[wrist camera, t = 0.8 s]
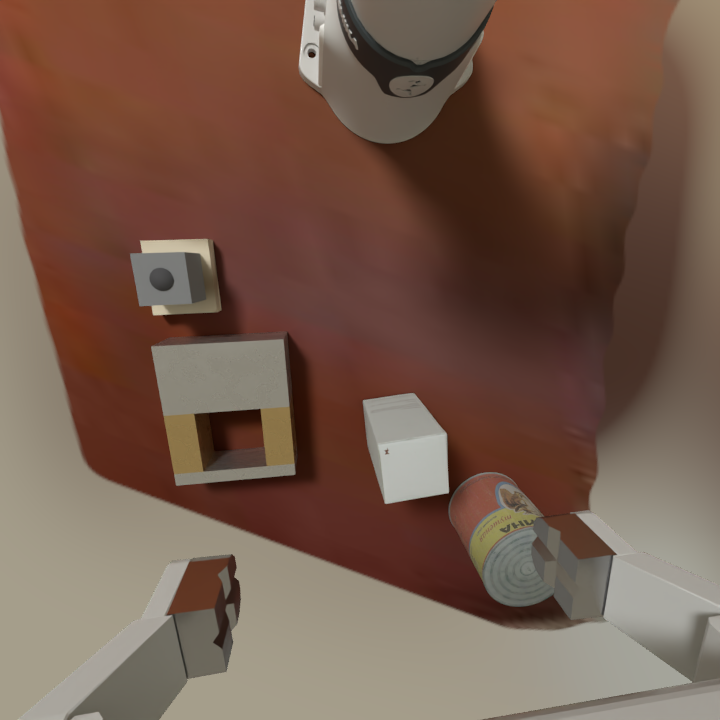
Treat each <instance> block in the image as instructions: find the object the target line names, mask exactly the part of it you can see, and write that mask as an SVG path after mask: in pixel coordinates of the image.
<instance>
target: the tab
mask: <svg viewBox="0 0 720 720" xmlns="http://www.w3.org/2000/svg"><path fill="white" fill-rule="evenodd" d="M140 242H141V248H142V253H168V252H189V253H199V254H200V256H201V264H202V271H203V278H204V285H205V293H206V300H203V301H200V302H196V303H193V304H176V305H154V306H152V310H153V315H168V314H190V313H211V312H219V311H221V310H222V309H221V301H220V294H219V286H218V278H217V270H216V262H215V255H214V247H213V240H210V239H190V240H155V241H140Z"/></svg>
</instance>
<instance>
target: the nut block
mask: <svg viewBox="0 0 720 720" xmlns="http://www.w3.org/2000/svg"><path fill="white" fill-rule="evenodd" d="M130 256H131V262H132V267H133V273H134V278H135V283H136V289H137V294H138V300H139V305H140V306H154V305H176V304H193V303H196V302H200V301H203V300H206V293H205V285H204V278H203V271H202V264H201V256H200V254H199V253H189V252H168V253H136V254H130Z"/></svg>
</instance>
